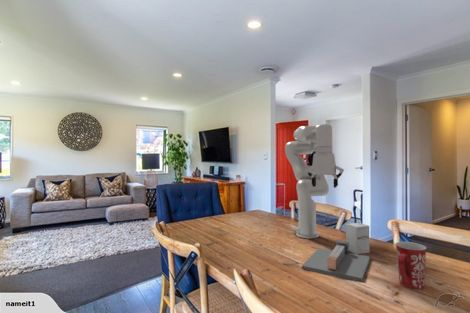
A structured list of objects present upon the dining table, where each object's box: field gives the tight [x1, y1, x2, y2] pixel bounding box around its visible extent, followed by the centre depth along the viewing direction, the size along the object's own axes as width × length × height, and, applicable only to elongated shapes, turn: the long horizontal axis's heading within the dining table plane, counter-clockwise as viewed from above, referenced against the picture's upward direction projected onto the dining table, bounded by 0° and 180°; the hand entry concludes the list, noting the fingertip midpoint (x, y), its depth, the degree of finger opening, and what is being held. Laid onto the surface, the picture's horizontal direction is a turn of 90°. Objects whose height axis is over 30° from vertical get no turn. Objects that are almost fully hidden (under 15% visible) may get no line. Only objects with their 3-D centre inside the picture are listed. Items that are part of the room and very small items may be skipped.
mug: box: [395, 241, 427, 290], centre depth 93 cm, size 13×9×14 cm
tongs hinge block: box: [335, 239, 350, 255], centre depth 121 cm, size 5×3×5 cm, turn 57°
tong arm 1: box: [327, 244, 341, 269], centre depth 111 cm, size 2×18×4 cm, turn 148°
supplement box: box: [345, 222, 370, 255], centre depth 126 cm, size 7×7×13 cm
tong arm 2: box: [332, 246, 345, 270], centre depth 110 cm, size 2×18×4 cm, turn 147°
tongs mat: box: [301, 247, 371, 282], centre depth 112 cm, size 22×24×1 cm
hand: (324, 186), depth 127 cm, fingers open, 9 cm apart
